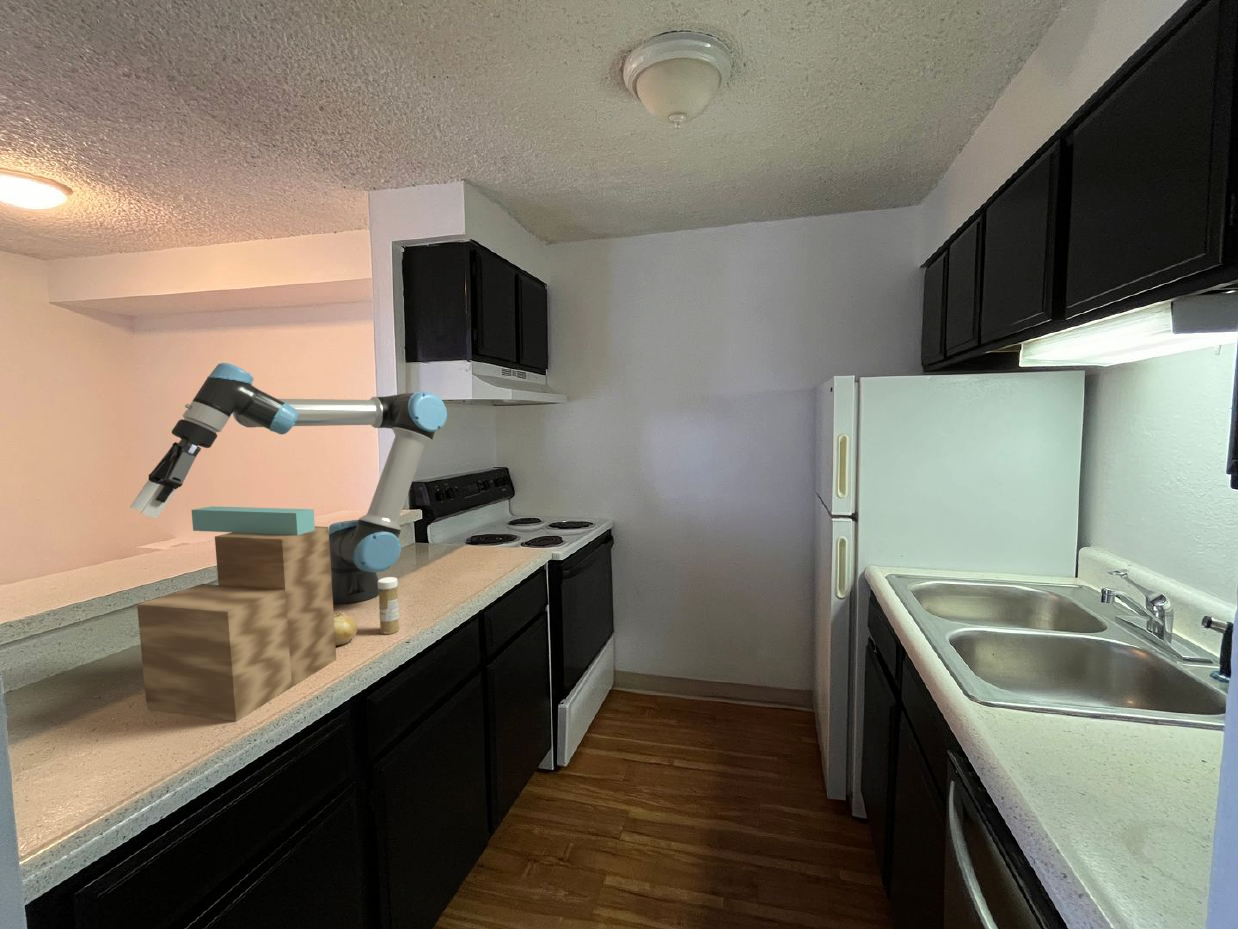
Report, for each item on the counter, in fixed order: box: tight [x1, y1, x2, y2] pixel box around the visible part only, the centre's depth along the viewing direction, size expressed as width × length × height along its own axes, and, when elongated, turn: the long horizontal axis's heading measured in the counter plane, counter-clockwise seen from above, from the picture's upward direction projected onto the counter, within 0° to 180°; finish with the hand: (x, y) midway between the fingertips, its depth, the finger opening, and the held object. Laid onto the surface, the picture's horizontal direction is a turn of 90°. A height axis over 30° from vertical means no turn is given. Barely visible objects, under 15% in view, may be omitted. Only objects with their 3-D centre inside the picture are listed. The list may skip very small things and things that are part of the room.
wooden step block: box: [136, 525, 337, 722], centre depth 104 cm, size 24×20×30 cm
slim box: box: [191, 505, 316, 535], centre depth 109 cm, size 4×26×4 cm, turn 78°
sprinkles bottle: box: [378, 576, 400, 635], centre depth 129 cm, size 5×5×14 cm
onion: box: [333, 611, 358, 647], centre depth 123 cm, size 8×8×7 cm
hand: (142, 513), depth 110 cm, fingers open, 13 cm apart
